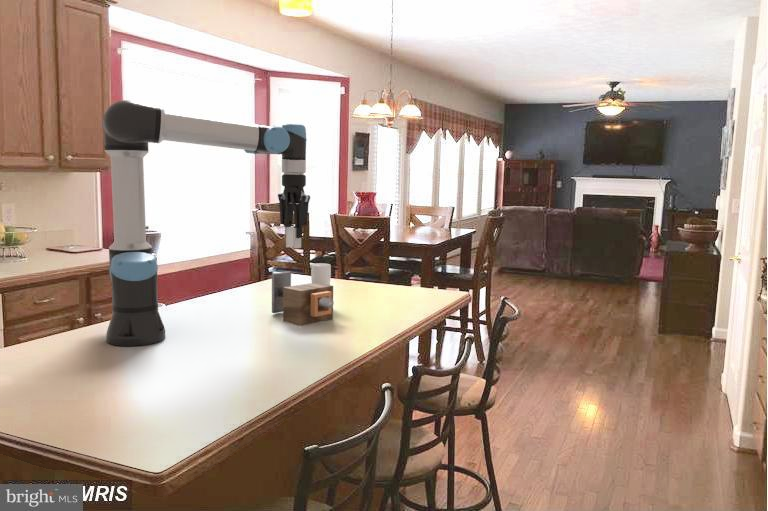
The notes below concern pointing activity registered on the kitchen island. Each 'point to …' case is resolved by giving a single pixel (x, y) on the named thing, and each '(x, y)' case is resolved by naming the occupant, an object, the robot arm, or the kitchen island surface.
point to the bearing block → (303, 303)
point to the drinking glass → (321, 273)
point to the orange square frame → (314, 303)
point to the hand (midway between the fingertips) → (293, 247)
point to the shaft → (285, 281)
